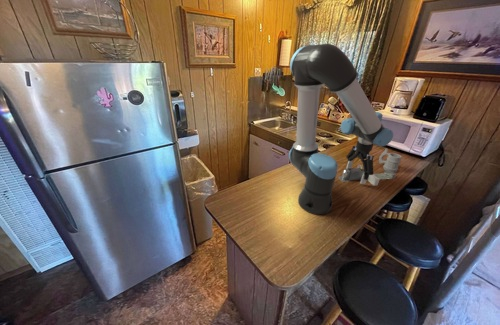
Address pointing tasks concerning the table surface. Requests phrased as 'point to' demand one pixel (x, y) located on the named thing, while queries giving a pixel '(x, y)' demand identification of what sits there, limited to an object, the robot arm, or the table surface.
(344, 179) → the grey knobbed fixture
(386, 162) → the mug
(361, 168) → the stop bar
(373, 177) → the door edge
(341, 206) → the table surface
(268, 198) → the table surface
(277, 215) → the table surface
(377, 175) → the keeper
